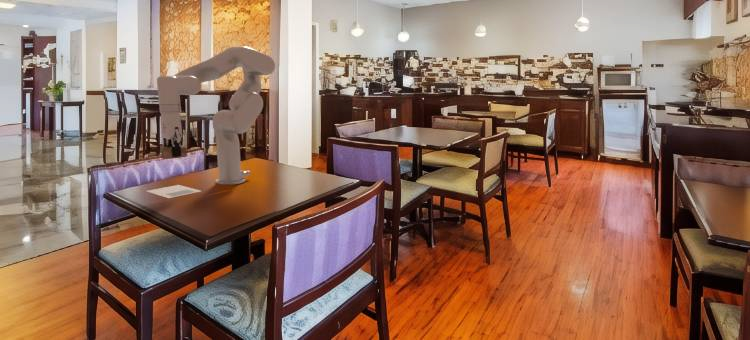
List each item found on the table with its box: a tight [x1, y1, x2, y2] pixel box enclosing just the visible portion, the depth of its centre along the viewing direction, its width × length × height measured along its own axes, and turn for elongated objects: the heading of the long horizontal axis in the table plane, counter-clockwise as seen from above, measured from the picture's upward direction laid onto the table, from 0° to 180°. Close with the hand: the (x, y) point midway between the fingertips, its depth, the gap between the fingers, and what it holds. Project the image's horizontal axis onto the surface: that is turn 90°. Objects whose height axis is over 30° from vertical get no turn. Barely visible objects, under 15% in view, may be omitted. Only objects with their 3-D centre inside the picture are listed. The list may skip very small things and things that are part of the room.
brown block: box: [160, 145, 188, 160], centre depth 179 cm, size 4×8×4 cm, turn 132°
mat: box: [146, 184, 202, 199], centre depth 184 cm, size 14×18×1 cm
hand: (174, 155), depth 179 cm, fingers closed on brown block, 4 cm apart
